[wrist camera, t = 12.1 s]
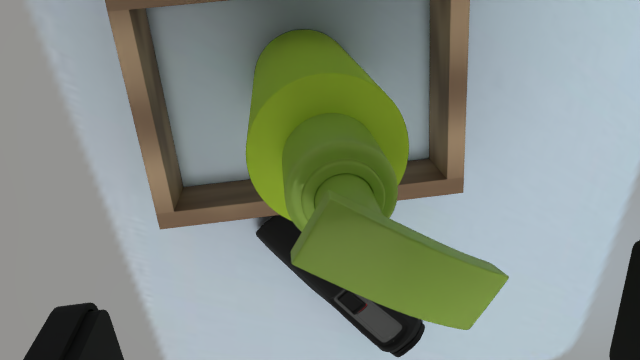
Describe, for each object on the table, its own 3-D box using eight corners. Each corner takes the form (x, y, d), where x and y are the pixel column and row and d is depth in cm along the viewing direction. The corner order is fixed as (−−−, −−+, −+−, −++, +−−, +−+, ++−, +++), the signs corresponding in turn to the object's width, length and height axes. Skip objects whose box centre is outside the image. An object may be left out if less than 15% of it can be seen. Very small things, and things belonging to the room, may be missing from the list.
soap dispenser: (337, 149, 32) (433, 398, 13) (237, 101, 30) (191, 311, 12) (384, 67, 30) (571, 223, 12) (282, 10, 28) (311, 87, 10)
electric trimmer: (283, 187, 33) (284, 207, 30) (425, 318, 38) (438, 346, 35) (243, 223, 34) (240, 247, 31) (388, 347, 39) (398, 377, 36)
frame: (121, -13, 27) (102, -11, 24) (447, -43, 28) (471, -45, 25) (170, 203, 32) (159, 229, 29) (443, 170, 33) (463, 192, 30)
